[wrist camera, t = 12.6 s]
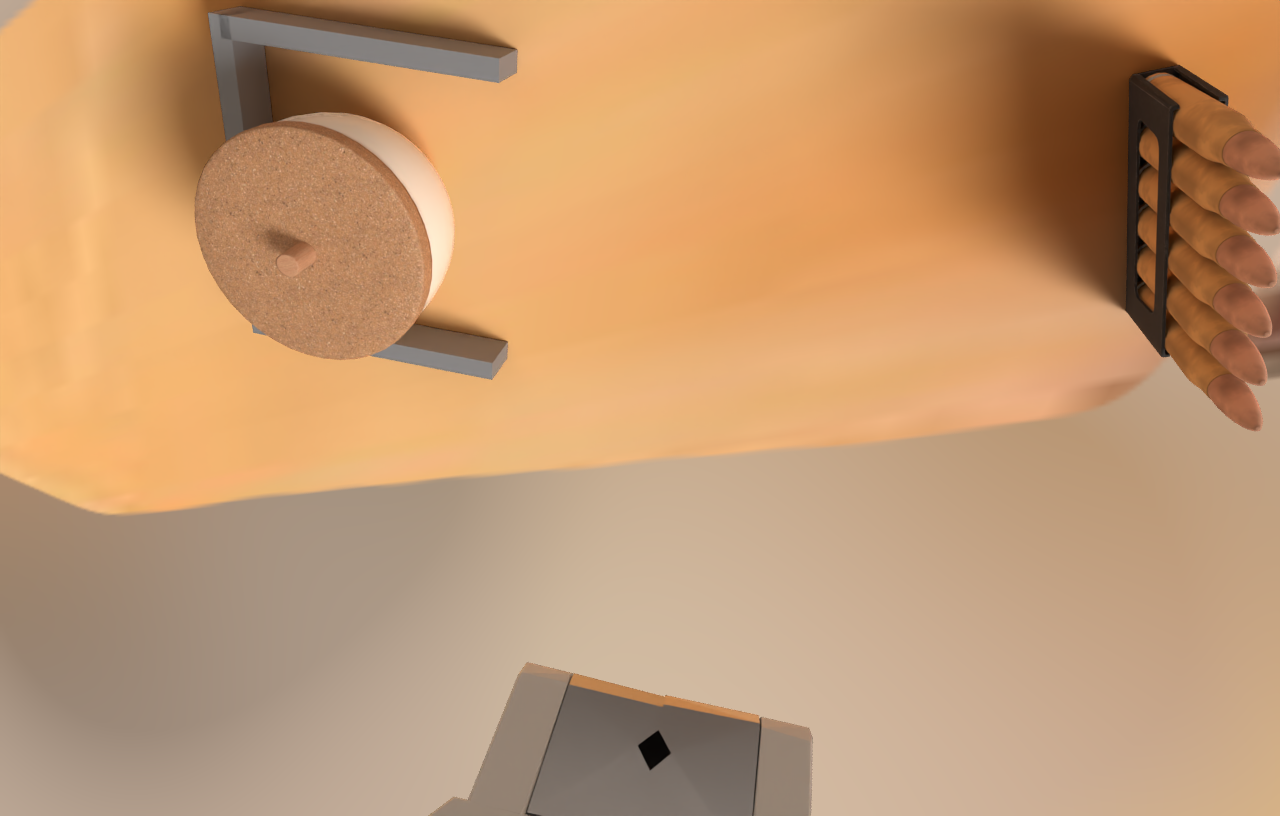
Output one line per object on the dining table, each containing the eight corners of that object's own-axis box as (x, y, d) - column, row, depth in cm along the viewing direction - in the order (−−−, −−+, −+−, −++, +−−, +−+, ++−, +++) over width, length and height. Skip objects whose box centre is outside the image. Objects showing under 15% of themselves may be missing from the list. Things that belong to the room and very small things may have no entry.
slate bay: (517, 49, 39) (499, 58, 37) (506, 358, 48) (492, 379, 45) (240, 6, 40) (207, 12, 38) (278, 313, 49) (253, 332, 47)
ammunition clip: (1129, 74, 35) (1249, 148, 25) (1180, 63, 35) (1324, 134, 24) (1125, 312, 40) (1225, 455, 30) (1171, 306, 39) (1287, 449, 29)
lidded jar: (251, 114, 43) (121, 164, 35) (442, 66, 40) (346, 108, 32) (337, 309, 48) (239, 391, 40) (512, 279, 45) (444, 361, 37)
